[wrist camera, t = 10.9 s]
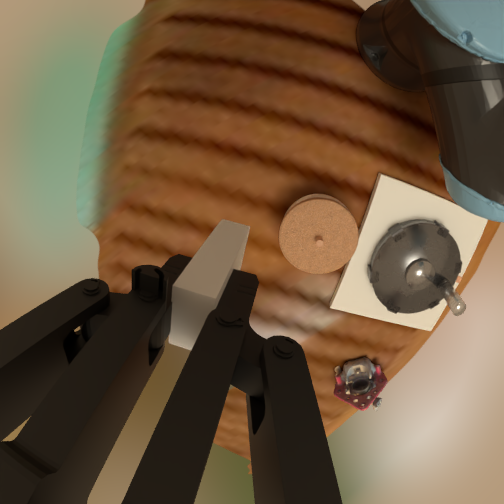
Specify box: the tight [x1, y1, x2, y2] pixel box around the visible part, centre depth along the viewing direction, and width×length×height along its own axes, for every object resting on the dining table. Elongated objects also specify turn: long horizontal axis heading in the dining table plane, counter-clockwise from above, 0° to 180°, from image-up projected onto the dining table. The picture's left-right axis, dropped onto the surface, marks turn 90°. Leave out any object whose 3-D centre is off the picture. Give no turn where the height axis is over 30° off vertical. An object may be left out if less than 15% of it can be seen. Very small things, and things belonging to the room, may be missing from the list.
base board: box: [330, 173, 488, 331], centre depth 45 cm, size 24×22×2 cm
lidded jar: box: [279, 194, 359, 274], centre depth 42 cm, size 11×11×9 cm
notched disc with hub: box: [367, 219, 466, 316], centre depth 40 cm, size 16×17×9 cm
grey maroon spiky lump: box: [334, 357, 387, 410], centre depth 55 cm, size 11×11×12 cm
